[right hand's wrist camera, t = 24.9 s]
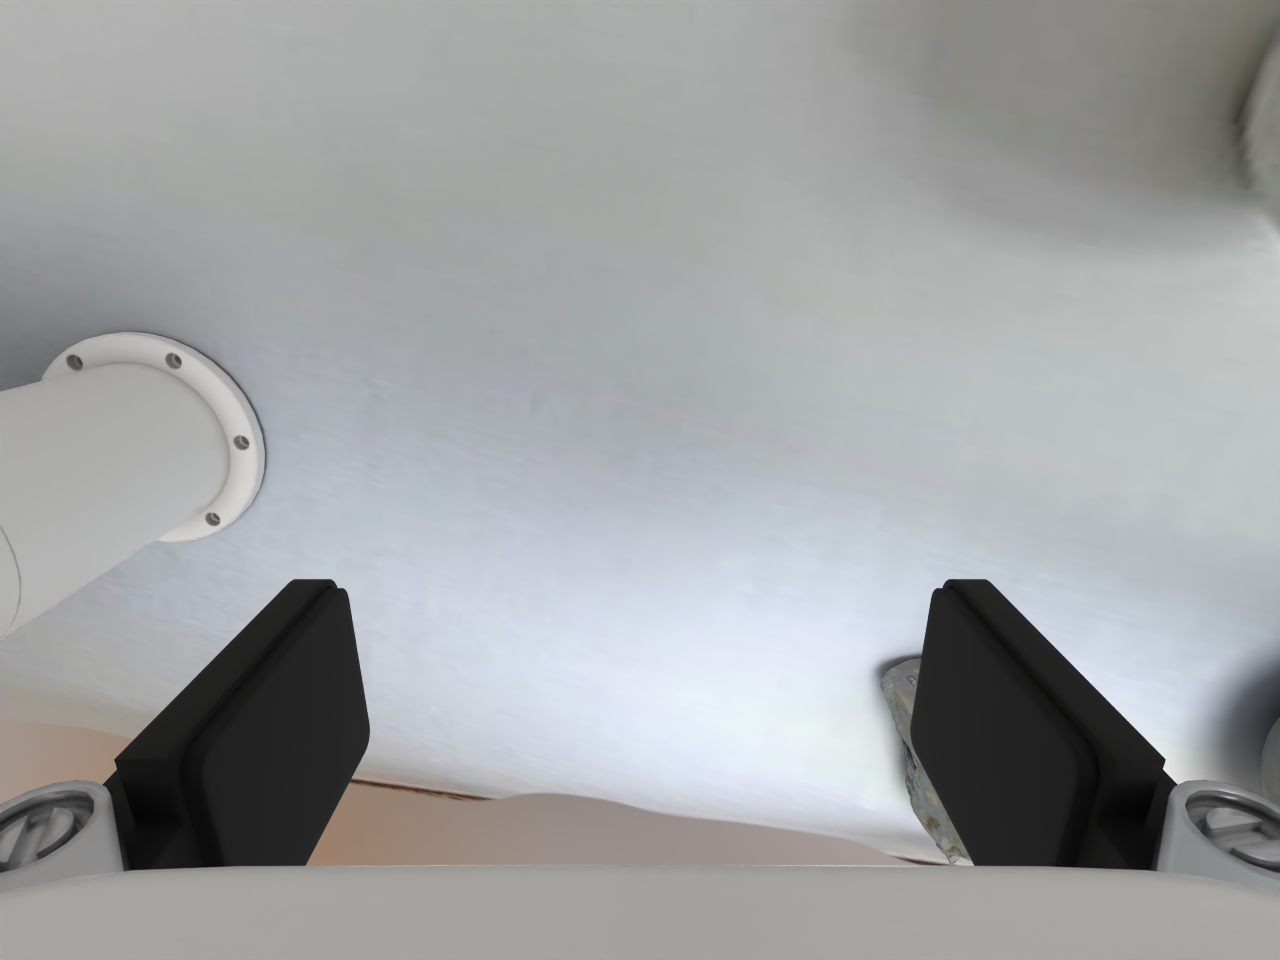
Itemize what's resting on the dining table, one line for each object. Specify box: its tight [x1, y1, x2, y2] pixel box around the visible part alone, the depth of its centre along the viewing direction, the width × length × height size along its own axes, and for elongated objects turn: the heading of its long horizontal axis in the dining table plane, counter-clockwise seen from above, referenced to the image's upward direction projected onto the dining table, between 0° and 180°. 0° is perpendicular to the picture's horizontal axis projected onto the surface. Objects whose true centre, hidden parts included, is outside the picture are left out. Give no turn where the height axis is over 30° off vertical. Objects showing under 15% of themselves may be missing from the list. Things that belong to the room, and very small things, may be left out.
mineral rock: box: [881, 658, 972, 864], centre depth 43 cm, size 13×11×10 cm
